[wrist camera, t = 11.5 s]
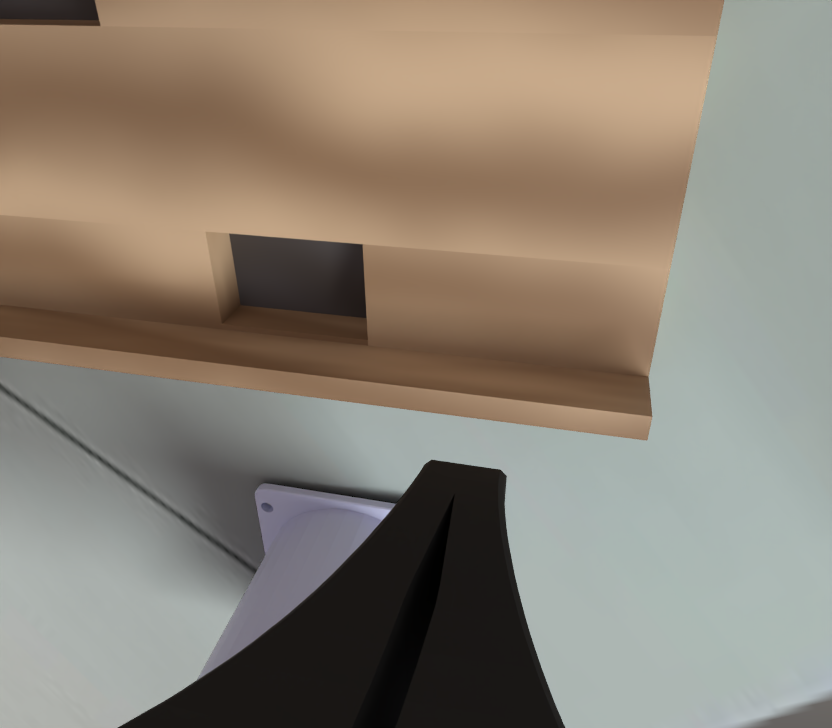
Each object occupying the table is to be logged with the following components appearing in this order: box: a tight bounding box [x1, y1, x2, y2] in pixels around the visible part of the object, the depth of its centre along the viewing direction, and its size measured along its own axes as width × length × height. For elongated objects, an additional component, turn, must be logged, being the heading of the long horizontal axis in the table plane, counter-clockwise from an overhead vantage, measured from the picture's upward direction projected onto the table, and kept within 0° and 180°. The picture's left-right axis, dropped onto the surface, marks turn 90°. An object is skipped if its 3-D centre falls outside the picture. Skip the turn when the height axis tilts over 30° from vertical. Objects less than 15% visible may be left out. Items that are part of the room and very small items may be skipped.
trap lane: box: [0, 0, 724, 440], centre depth 19 cm, size 14×29×4 cm, turn 91°
